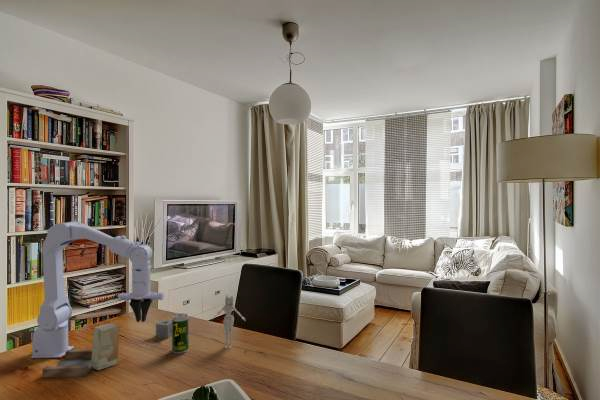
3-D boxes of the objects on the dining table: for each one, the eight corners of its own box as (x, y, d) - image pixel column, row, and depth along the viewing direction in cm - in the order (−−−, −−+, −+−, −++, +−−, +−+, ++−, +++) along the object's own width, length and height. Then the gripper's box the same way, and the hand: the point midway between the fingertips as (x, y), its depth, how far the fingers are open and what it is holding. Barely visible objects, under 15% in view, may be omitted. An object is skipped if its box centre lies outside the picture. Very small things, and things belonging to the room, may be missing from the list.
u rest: (42, 377, 106) (42, 368, 106) (68, 357, 119) (68, 349, 119) (85, 376, 107) (85, 368, 107) (106, 356, 120) (106, 349, 120)
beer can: (171, 348, 126) (171, 314, 126) (187, 346, 128) (187, 312, 128) (172, 355, 121) (172, 319, 121) (189, 352, 124) (189, 317, 123)
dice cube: (155, 337, 137) (155, 324, 136) (163, 332, 141) (163, 319, 141) (167, 338, 135) (167, 325, 135) (175, 333, 140) (175, 320, 140)
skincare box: (98, 371, 110) (100, 330, 110) (90, 366, 112) (92, 327, 112) (118, 363, 115) (120, 325, 115) (110, 359, 118) (112, 321, 117)
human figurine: (210, 347, 128) (210, 296, 127) (214, 343, 132) (214, 293, 131) (243, 349, 126) (244, 297, 126) (246, 344, 130) (247, 294, 130)
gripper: (114, 284, 119) (114, 325, 119) (159, 283, 120) (159, 324, 120) (122, 279, 126) (122, 318, 126) (165, 278, 127) (165, 317, 128)
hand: (141, 320), depth 124 cm, fingers closed
